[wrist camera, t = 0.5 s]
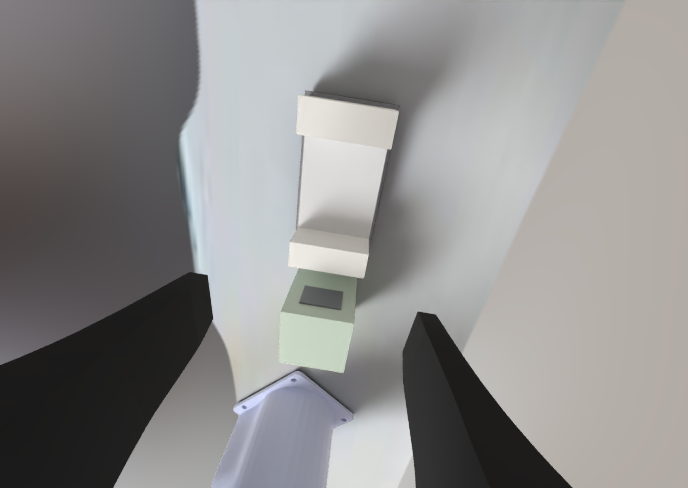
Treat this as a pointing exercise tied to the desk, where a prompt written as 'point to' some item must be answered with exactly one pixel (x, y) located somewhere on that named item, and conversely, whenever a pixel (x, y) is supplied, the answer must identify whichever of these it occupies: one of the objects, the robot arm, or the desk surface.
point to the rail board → (339, 180)
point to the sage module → (318, 320)
